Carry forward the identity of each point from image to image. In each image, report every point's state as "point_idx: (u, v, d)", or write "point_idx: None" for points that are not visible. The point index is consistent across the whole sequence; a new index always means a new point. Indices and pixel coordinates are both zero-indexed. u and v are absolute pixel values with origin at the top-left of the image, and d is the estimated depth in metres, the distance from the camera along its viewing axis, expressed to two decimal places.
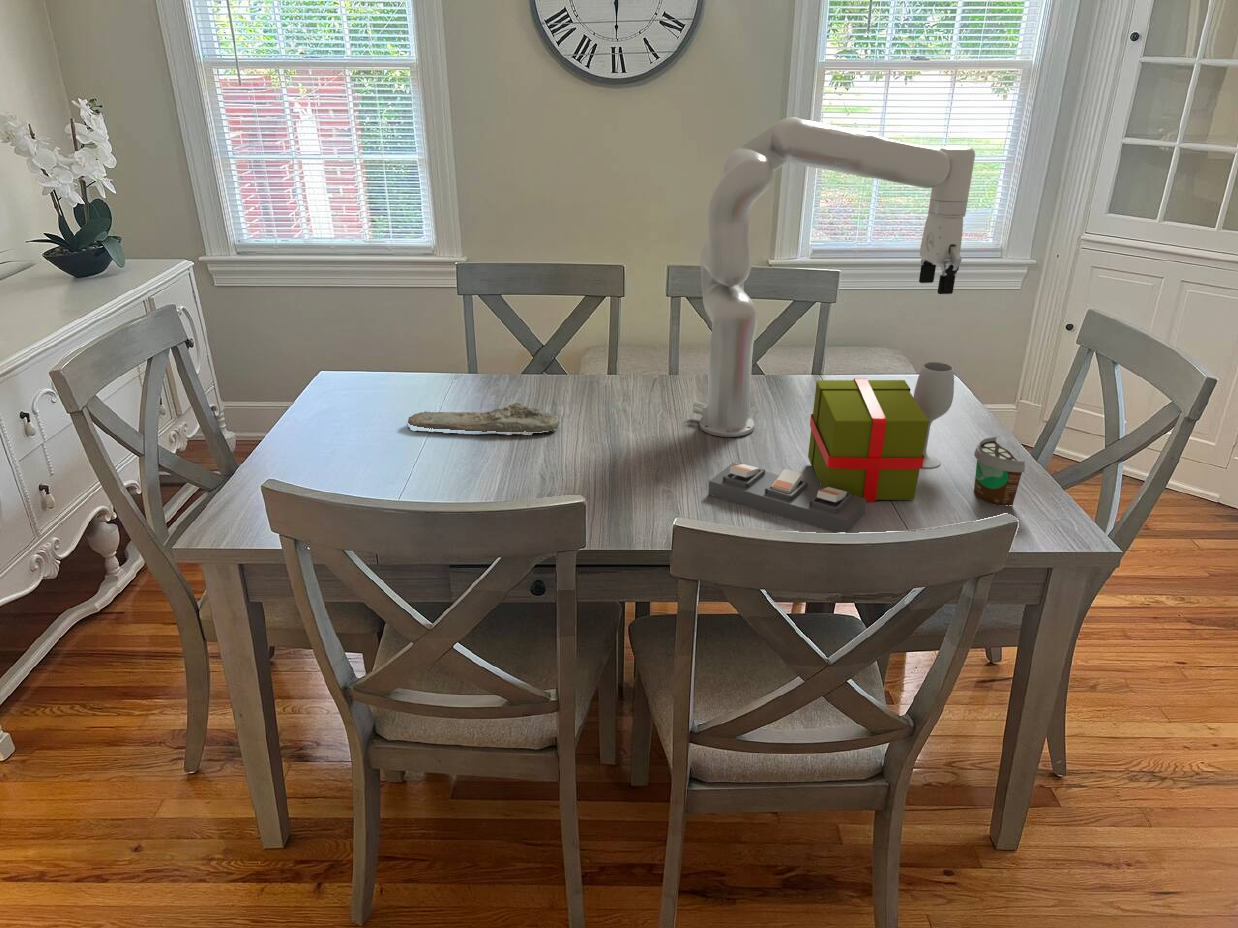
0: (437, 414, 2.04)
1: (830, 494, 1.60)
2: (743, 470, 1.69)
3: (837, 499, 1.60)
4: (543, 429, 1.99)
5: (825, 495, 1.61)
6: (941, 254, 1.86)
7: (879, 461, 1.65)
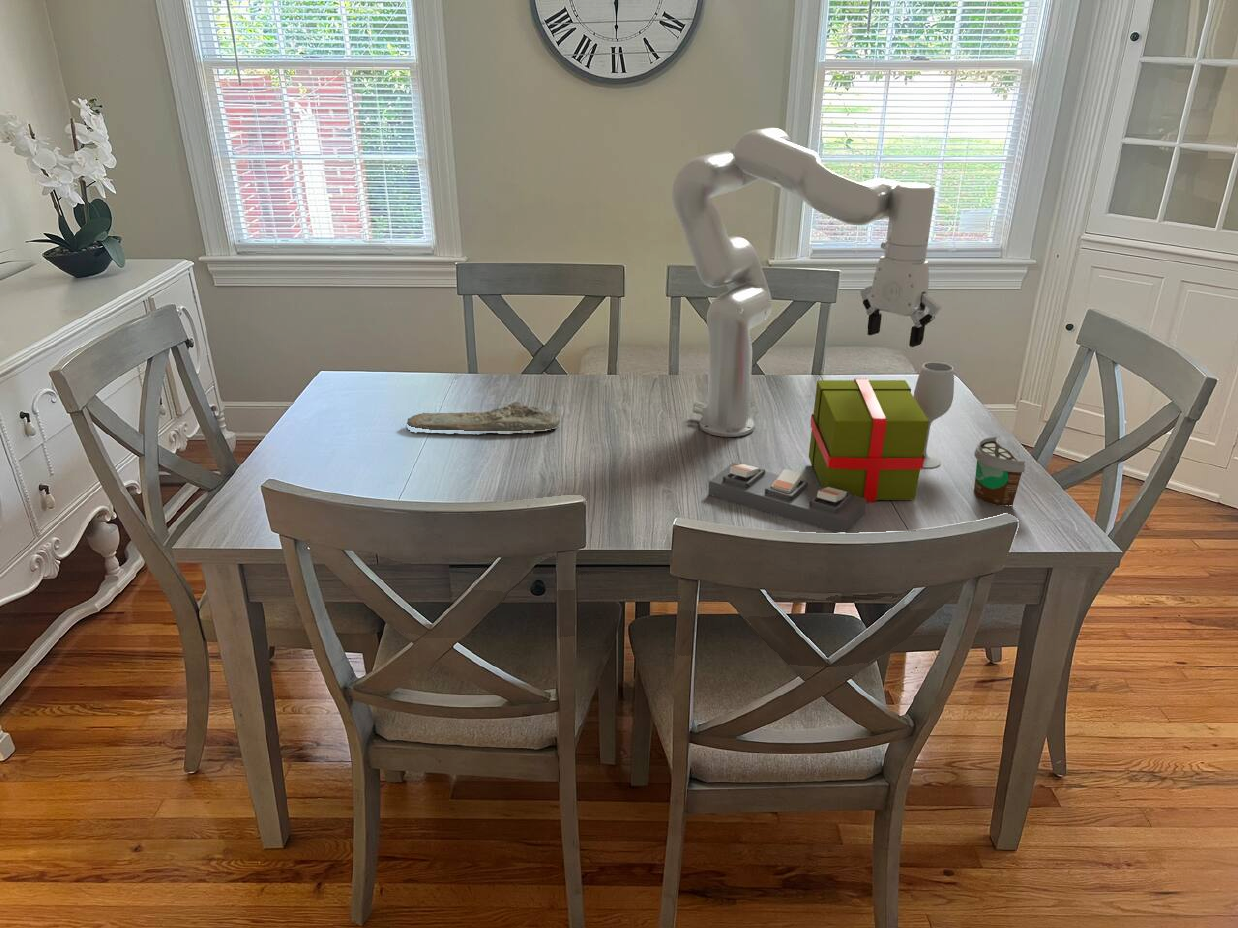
0: (436, 415, 2.03)
1: (830, 494, 1.60)
2: (743, 470, 1.69)
3: (837, 499, 1.60)
4: (545, 427, 1.99)
5: (825, 495, 1.61)
6: (915, 304, 1.65)
7: (879, 461, 1.65)
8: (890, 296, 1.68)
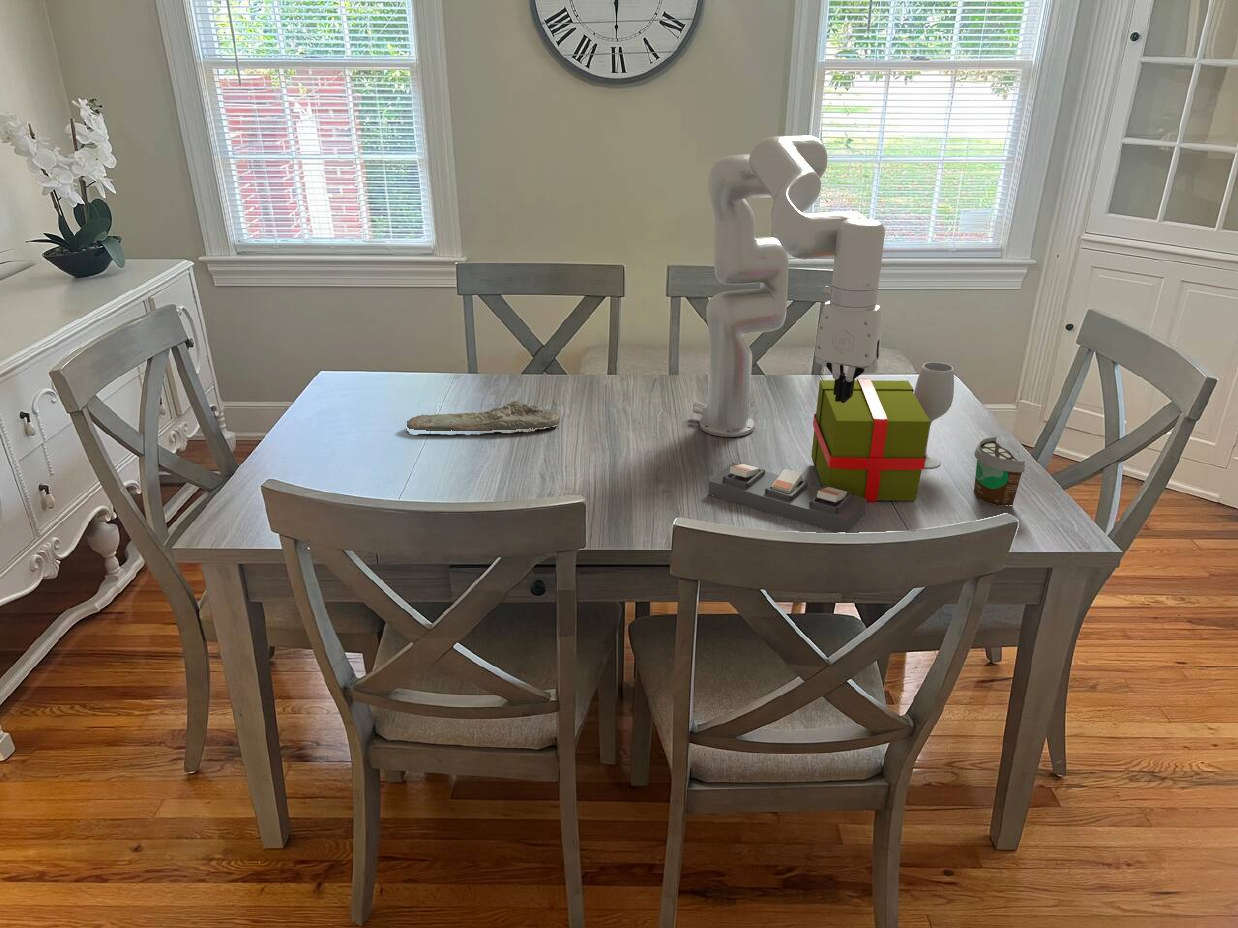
0: (435, 416, 2.03)
1: (830, 494, 1.60)
2: (743, 470, 1.69)
3: (837, 499, 1.60)
4: (546, 425, 2.01)
5: (825, 495, 1.61)
6: (872, 354, 1.46)
7: (880, 461, 1.65)
8: (841, 347, 1.48)
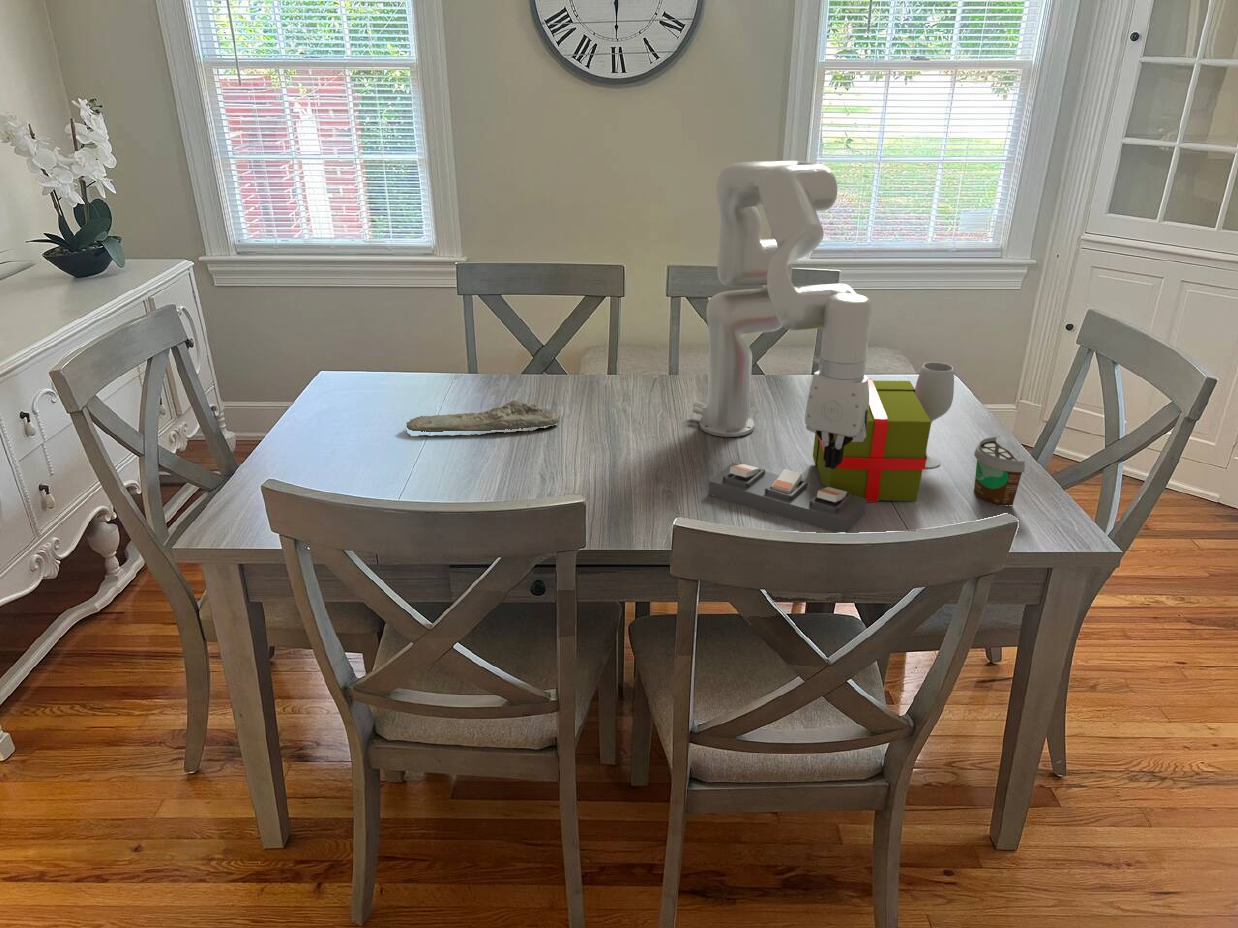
0: (435, 417, 2.02)
1: (830, 494, 1.60)
2: (743, 470, 1.69)
3: (837, 499, 1.60)
4: (547, 424, 2.01)
5: (825, 495, 1.61)
6: (860, 424, 1.50)
7: (881, 461, 1.65)
8: (830, 416, 1.52)
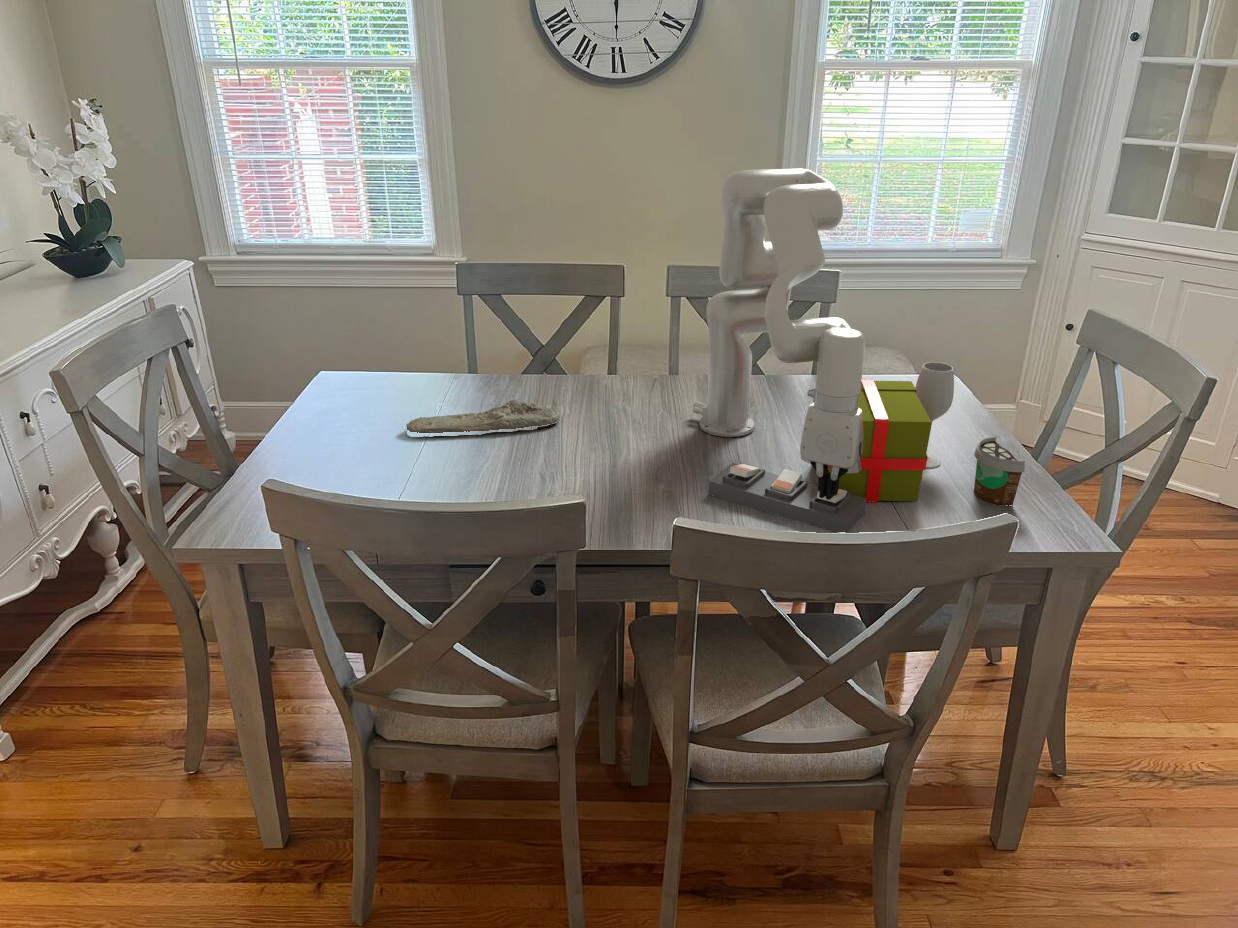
0: (434, 419, 2.02)
1: None
2: (743, 470, 1.69)
3: (837, 499, 1.60)
4: (547, 422, 2.02)
5: (825, 496, 1.61)
6: (854, 456, 1.52)
7: (882, 461, 1.65)
8: (825, 448, 1.54)
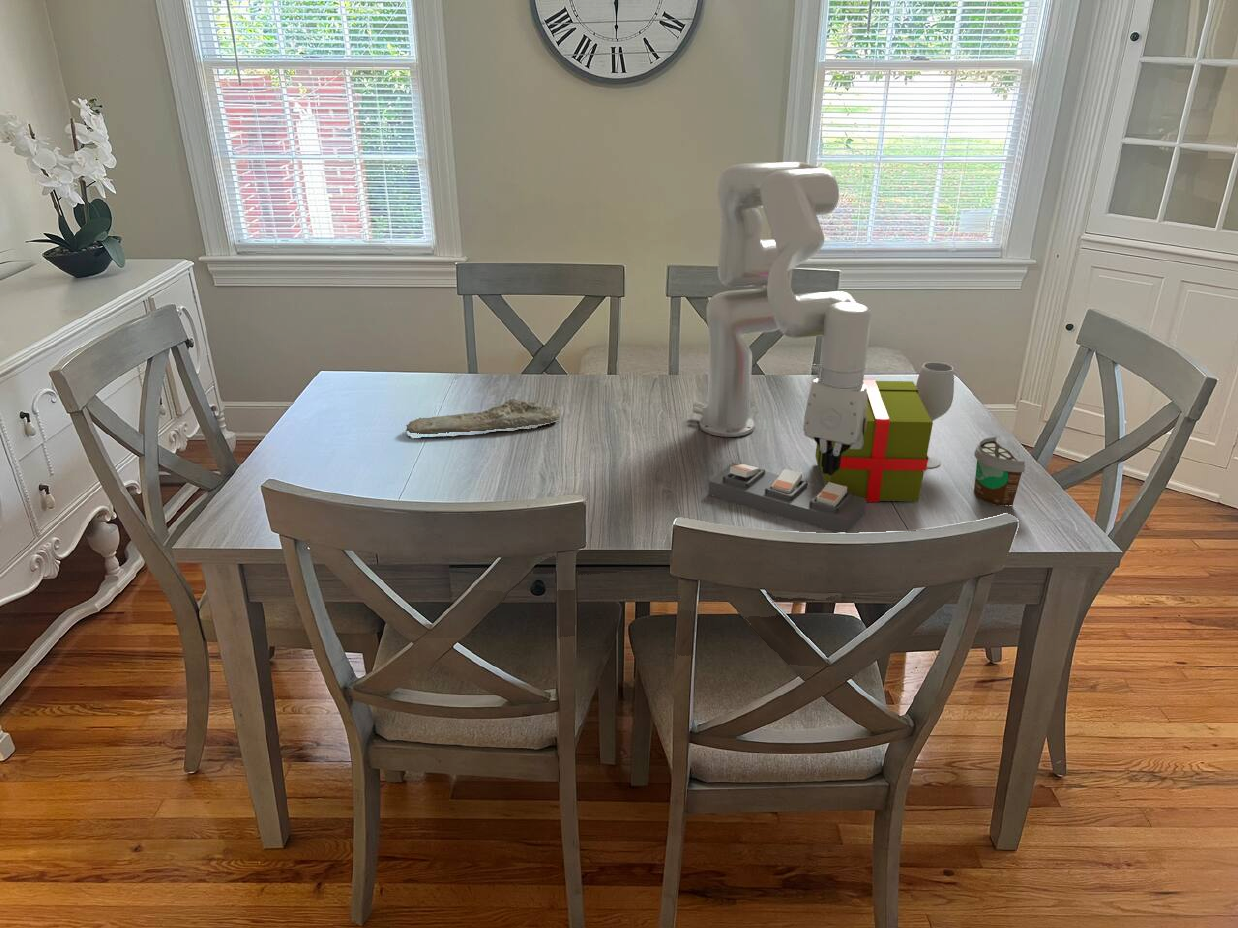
0: (434, 419, 2.01)
1: (829, 500, 1.60)
2: (743, 470, 1.69)
3: (837, 503, 1.61)
4: (548, 421, 2.03)
5: (824, 501, 1.61)
6: (858, 432, 1.51)
7: (882, 462, 1.65)
8: (828, 424, 1.53)
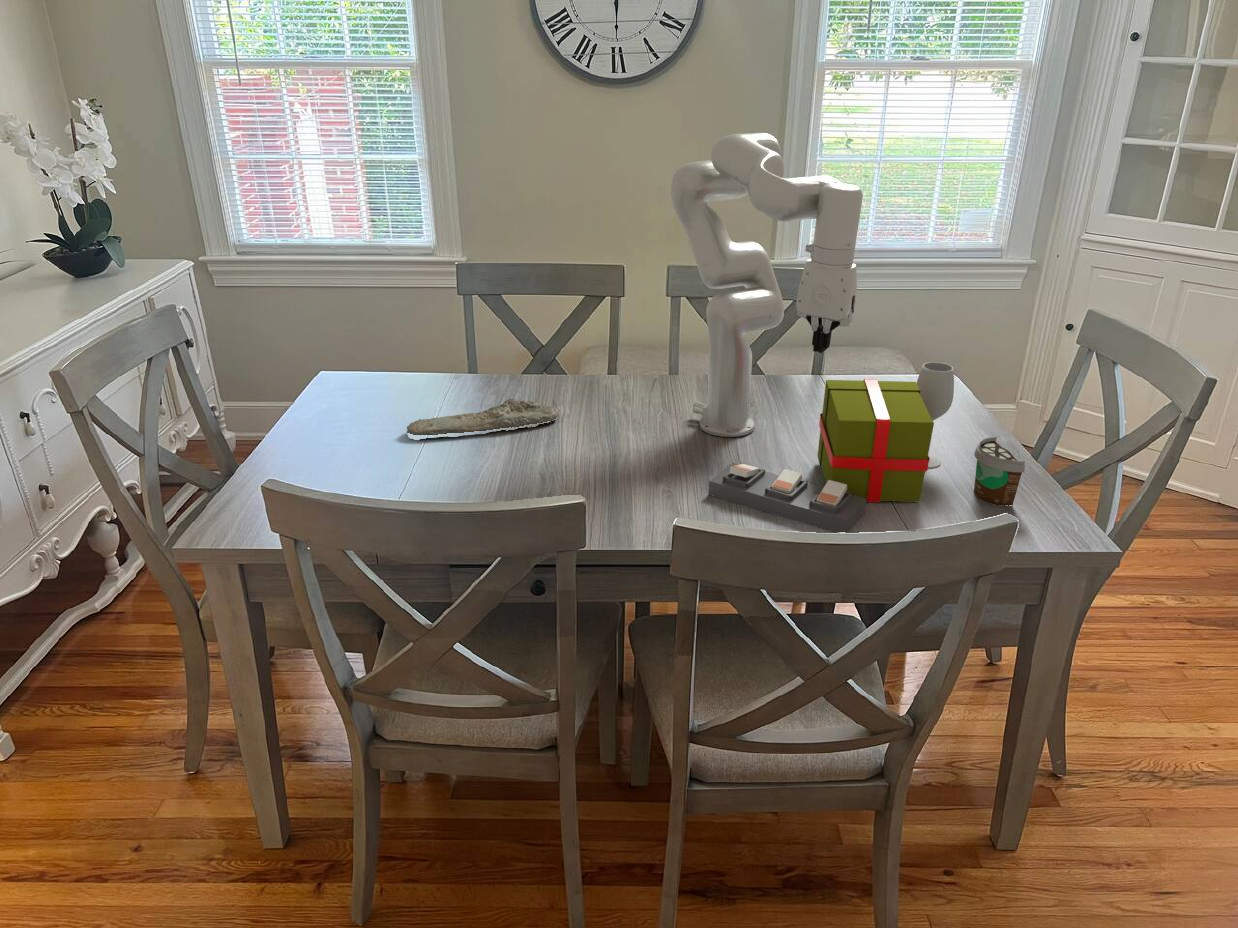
0: (434, 420, 2.01)
1: (829, 503, 1.61)
2: (743, 470, 1.69)
3: (837, 504, 1.61)
4: (548, 419, 2.04)
5: None
6: (847, 309, 1.60)
7: (883, 462, 1.65)
8: (820, 301, 1.62)
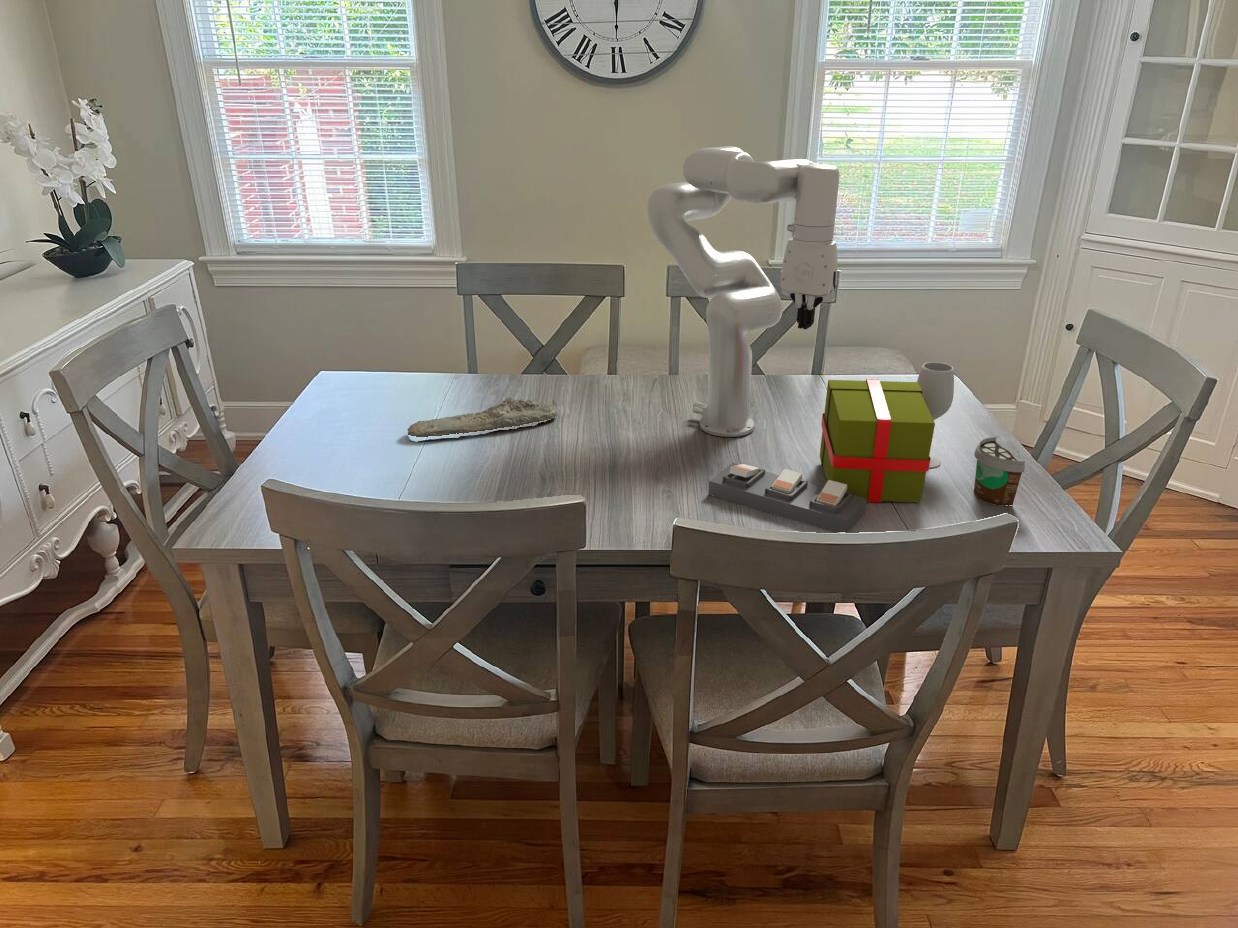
0: (434, 421, 2.00)
1: (829, 503, 1.61)
2: (743, 470, 1.69)
3: (837, 504, 1.61)
4: (548, 417, 2.05)
5: None
6: (829, 284, 1.66)
7: (884, 462, 1.65)
8: (802, 278, 1.68)
